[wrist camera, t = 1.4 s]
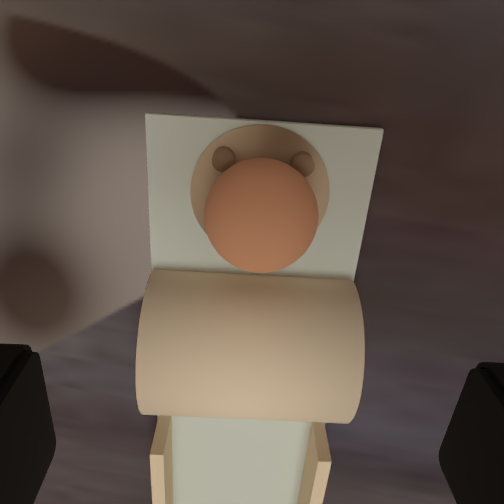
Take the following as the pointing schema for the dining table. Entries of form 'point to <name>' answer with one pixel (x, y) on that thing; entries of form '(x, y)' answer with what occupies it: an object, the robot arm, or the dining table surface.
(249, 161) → the ball
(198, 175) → the tee
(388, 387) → the dining table surface
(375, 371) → the dining table surface
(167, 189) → the lane
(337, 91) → the dining table surface
